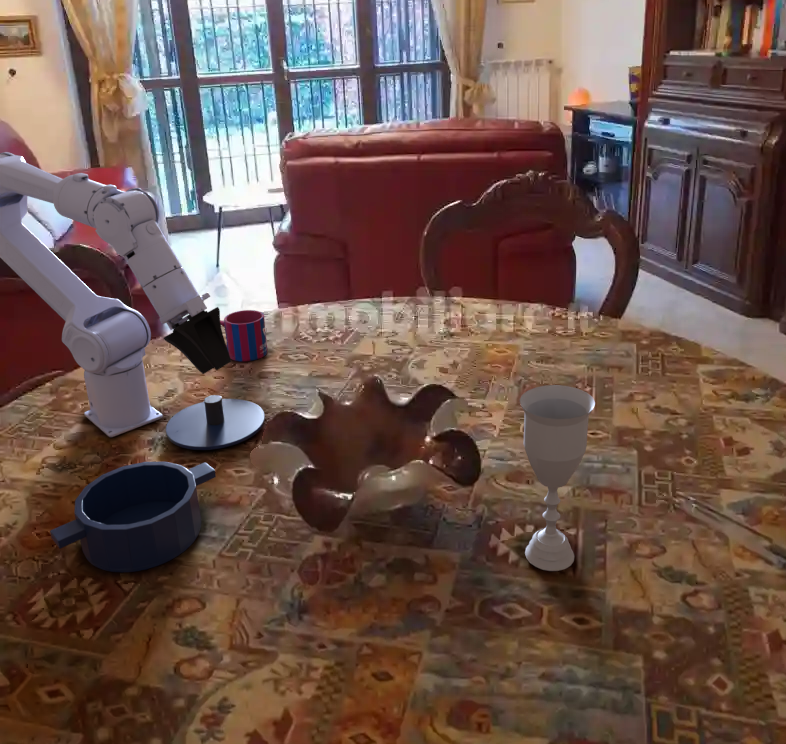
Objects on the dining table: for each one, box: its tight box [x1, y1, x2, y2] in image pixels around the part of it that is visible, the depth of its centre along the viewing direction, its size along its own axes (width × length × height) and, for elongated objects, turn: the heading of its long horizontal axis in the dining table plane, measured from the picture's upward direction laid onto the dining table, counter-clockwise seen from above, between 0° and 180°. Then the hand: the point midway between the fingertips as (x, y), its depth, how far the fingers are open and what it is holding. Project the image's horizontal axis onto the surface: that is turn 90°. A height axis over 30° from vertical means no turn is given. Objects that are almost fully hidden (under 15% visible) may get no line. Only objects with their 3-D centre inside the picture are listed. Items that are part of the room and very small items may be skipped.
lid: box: [165, 394, 266, 451], centre depth 105 cm, size 14×14×5 cm
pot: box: [49, 461, 217, 573], centre depth 83 cm, size 13×18×5 cm
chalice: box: [519, 384, 596, 572], centre depth 75 cm, size 7×7×18 cm
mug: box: [220, 309, 268, 362], centre depth 128 cm, size 7×10×7 cm
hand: (216, 368), depth 98 cm, fingers open, 7 cm apart
